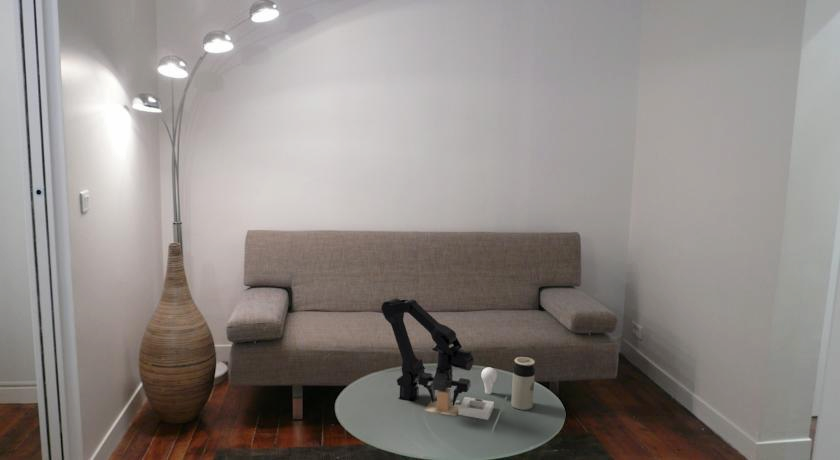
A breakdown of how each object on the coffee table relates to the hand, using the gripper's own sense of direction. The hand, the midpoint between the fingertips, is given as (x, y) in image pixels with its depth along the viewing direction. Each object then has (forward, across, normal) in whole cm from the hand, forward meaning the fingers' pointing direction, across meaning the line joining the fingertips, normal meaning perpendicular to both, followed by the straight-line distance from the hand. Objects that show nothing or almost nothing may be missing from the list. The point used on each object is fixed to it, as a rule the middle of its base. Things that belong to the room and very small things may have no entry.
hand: (443, 403), depth 222 cm
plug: (+2, 0, 0) cm, 2 cm away
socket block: (+2, +12, +2) cm, 12 cm away
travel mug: (+2, +27, +14) cm, 31 cm away
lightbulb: (+2, +13, +19) cm, 23 cm away
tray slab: (+2, 0, 0) cm, 2 cm away
